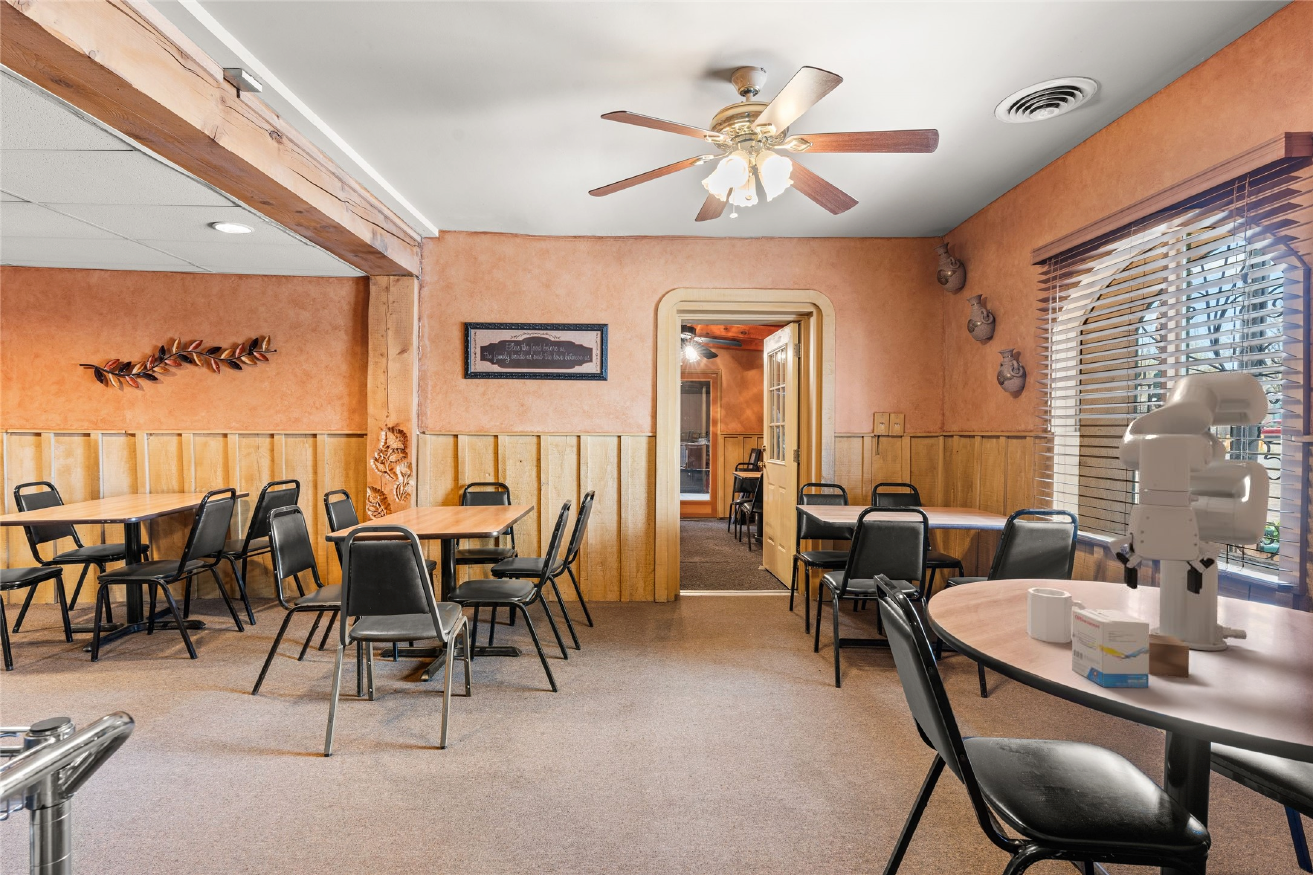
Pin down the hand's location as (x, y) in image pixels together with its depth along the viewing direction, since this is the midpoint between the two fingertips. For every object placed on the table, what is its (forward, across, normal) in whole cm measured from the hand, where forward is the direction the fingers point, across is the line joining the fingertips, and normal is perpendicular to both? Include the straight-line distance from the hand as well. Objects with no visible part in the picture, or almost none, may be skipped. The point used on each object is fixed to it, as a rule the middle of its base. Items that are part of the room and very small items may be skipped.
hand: (1162, 590), depth 118 cm
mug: (+15, +13, -15) cm, 25 cm away
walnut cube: (+15, 0, 0) cm, 15 cm away
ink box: (+16, +11, +8) cm, 20 cm away
